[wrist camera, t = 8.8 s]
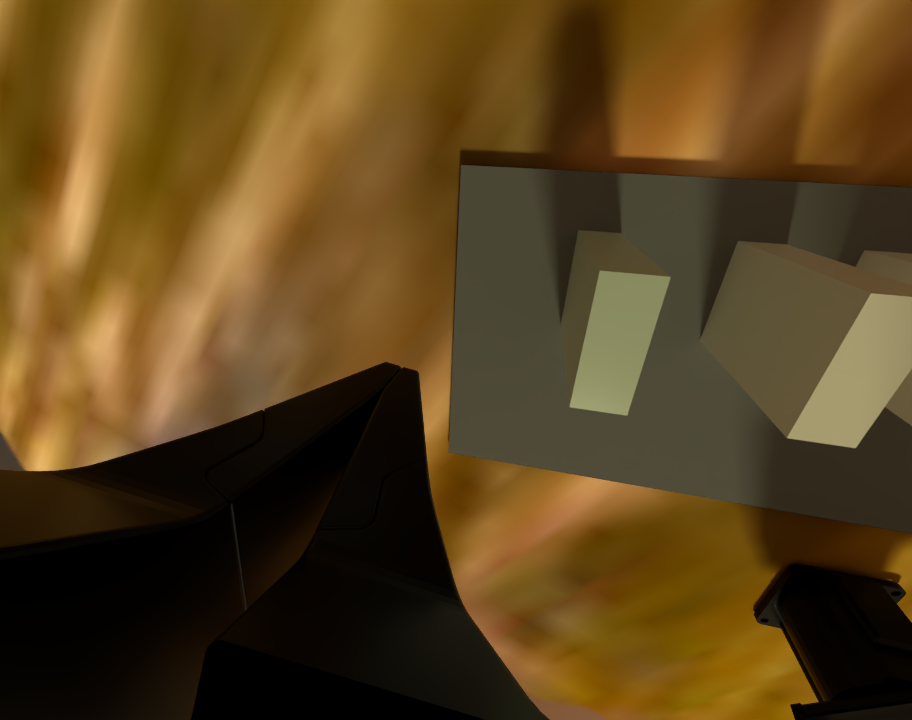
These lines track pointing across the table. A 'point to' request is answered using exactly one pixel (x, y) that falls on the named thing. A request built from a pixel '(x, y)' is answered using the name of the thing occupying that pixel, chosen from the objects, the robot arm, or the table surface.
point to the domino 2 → (811, 339)
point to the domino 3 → (905, 268)
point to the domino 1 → (609, 320)
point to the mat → (659, 337)
